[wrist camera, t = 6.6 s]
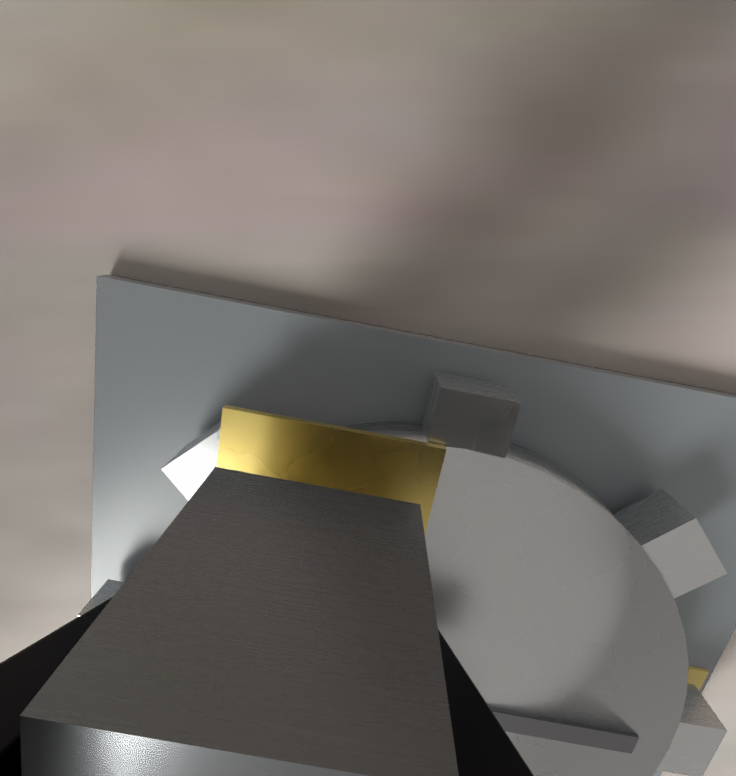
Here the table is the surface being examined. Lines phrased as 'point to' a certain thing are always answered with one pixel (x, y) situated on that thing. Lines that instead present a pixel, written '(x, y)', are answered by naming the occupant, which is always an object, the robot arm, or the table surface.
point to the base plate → (386, 419)
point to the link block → (258, 647)
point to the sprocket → (517, 573)
